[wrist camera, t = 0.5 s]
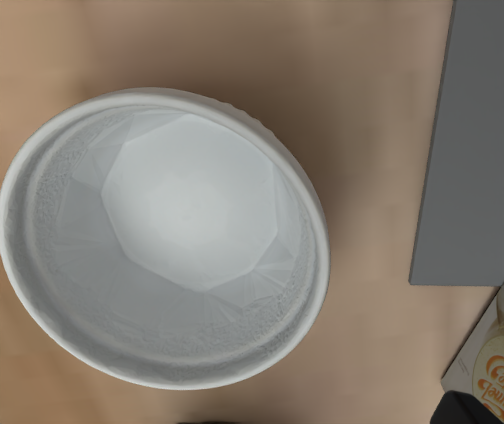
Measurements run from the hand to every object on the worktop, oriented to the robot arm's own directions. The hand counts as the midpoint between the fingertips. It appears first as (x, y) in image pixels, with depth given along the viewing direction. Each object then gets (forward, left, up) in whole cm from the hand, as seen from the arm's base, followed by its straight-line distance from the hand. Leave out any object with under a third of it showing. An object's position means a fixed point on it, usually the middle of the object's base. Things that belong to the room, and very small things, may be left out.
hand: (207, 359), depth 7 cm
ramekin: (-3, +3, -14) cm, 15 cm away
